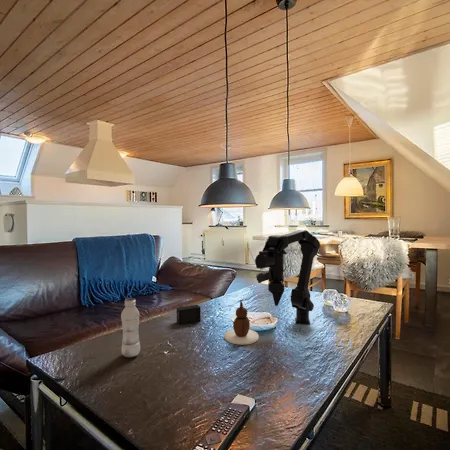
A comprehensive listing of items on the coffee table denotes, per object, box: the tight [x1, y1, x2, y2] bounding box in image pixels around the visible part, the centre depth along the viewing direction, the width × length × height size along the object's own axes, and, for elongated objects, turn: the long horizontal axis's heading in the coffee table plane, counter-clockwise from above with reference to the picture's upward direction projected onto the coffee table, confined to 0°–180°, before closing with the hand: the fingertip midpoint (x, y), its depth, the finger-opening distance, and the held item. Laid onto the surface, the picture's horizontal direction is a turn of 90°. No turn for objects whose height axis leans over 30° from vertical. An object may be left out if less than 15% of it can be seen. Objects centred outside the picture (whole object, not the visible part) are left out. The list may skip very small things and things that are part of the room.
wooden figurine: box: [232, 299, 250, 337], centre depth 121 cm, size 7×6×15 cm
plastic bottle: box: [120, 298, 141, 358], centre depth 105 cm, size 6×7×20 cm
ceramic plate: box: [223, 328, 260, 346], centre depth 121 cm, size 14×14×1 cm
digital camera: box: [175, 304, 202, 326], centre depth 139 cm, size 10×5×7 cm, turn 116°
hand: (276, 302), depth 125 cm, fingers open, 9 cm apart
